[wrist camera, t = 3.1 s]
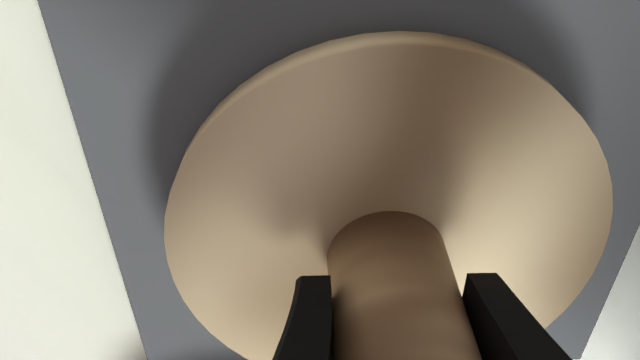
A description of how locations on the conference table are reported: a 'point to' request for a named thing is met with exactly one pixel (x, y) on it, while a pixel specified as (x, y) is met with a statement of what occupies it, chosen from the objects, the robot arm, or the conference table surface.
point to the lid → (386, 196)
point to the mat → (275, 44)
